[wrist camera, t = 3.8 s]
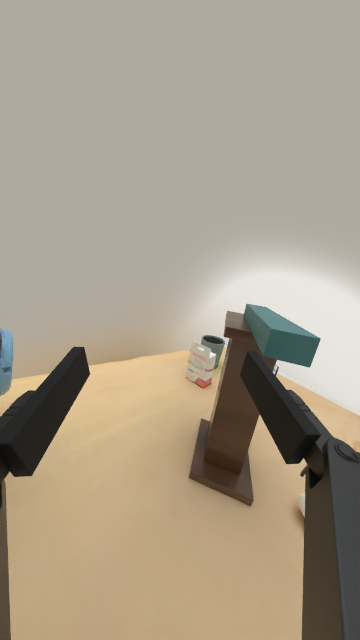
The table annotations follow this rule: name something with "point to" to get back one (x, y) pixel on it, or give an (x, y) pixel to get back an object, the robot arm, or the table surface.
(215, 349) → the embossed plant pot
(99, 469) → the table surface
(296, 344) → the batten
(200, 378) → the ink cartridge box
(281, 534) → the table surface
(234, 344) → the stand
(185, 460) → the table surface
